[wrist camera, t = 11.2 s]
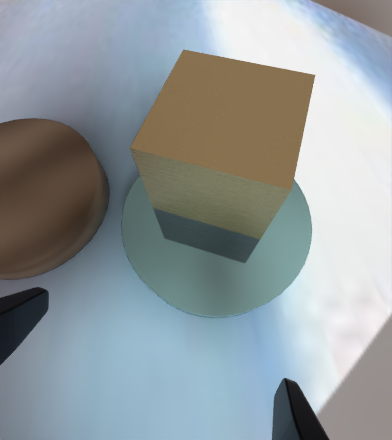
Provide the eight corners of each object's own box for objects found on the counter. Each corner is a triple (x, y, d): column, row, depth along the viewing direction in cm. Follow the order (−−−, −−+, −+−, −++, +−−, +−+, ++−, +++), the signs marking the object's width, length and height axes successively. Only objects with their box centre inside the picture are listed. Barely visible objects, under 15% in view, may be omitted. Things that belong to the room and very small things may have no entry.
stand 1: (136, 219, 21) (126, 201, 18) (-24, 316, 18) (-64, 313, 15) (72, 122, 25) (56, 96, 23) (-64, 187, 22) (-101, 167, 20)
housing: (245, 263, 16) (291, 190, 8) (164, 238, 17) (129, 147, 9) (263, 191, 18) (314, 75, 10) (190, 172, 19) (183, 49, 11)
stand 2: (332, 249, 19) (353, 235, 17) (193, 359, 17) (191, 365, 14) (227, 141, 24) (231, 116, 21) (103, 213, 21) (89, 195, 18)
